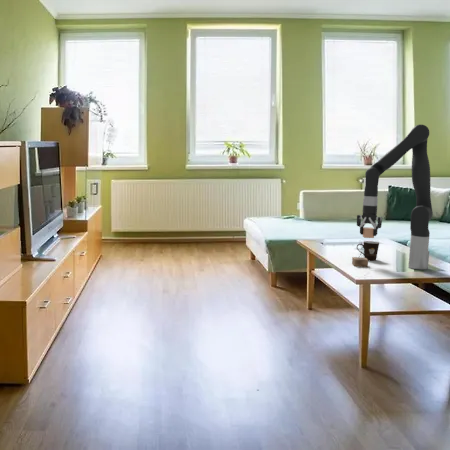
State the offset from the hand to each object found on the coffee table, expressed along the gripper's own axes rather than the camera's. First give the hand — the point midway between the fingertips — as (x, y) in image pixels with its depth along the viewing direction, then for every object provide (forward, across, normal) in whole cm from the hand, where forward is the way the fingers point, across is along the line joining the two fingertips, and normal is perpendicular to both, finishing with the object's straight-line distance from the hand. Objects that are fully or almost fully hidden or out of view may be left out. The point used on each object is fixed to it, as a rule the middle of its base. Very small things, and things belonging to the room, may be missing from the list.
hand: (368, 235), depth 300 cm
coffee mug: (+16, +7, -14) cm, 22 cm away
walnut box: (+16, 0, +8) cm, 18 cm away
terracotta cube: (+1, 0, 0) cm, 1 cm away
